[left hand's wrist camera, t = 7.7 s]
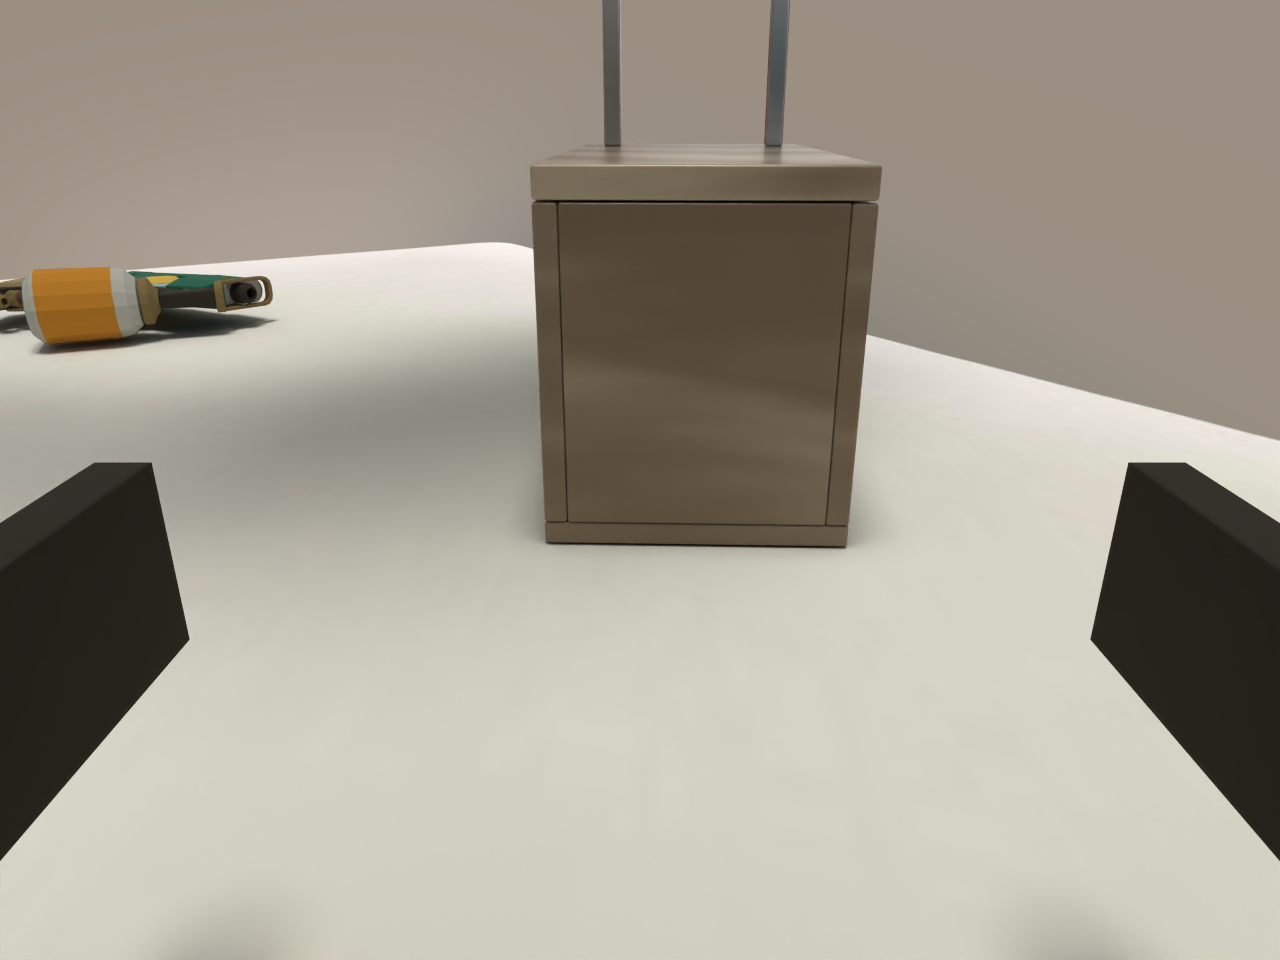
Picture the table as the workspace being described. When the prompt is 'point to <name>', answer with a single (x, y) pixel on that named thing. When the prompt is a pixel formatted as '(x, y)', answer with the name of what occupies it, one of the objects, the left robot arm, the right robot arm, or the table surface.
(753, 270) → the chest
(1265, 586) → the left robot arm
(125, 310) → the spray gun
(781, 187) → the lid
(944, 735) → the table surface
